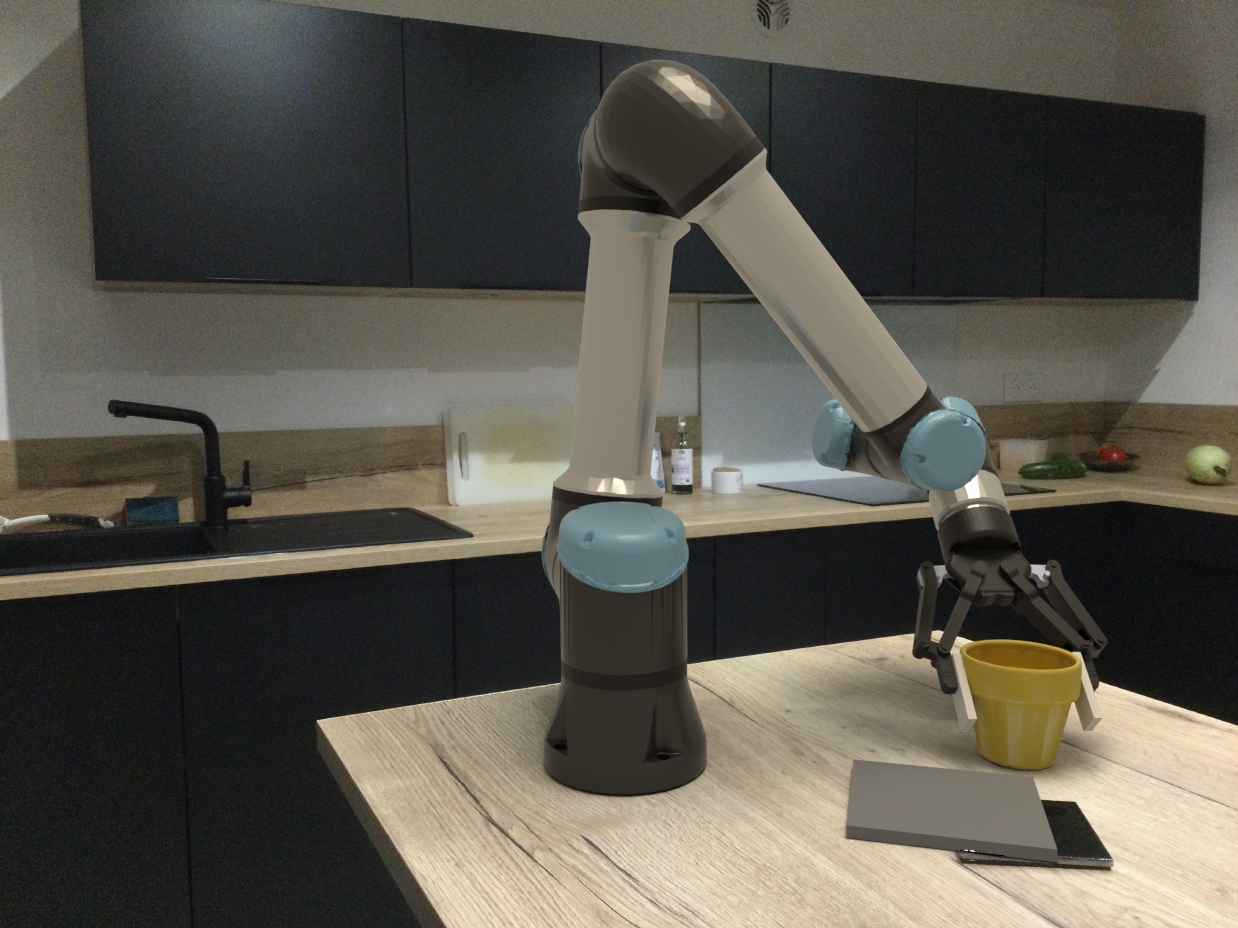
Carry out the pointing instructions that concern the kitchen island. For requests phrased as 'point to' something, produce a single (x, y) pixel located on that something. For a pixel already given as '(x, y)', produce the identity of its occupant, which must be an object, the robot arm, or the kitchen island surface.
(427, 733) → the kitchen island surface
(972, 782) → the trivet mat
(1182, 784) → the kitchen island surface
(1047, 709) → the plant pot
